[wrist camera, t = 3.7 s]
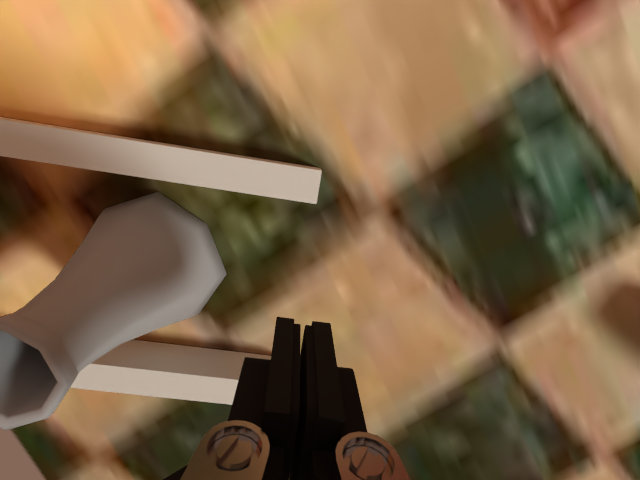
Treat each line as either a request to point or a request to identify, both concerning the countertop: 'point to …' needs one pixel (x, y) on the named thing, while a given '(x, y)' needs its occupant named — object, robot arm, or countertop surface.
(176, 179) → the guide rails
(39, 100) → the countertop surface
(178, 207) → the flask
